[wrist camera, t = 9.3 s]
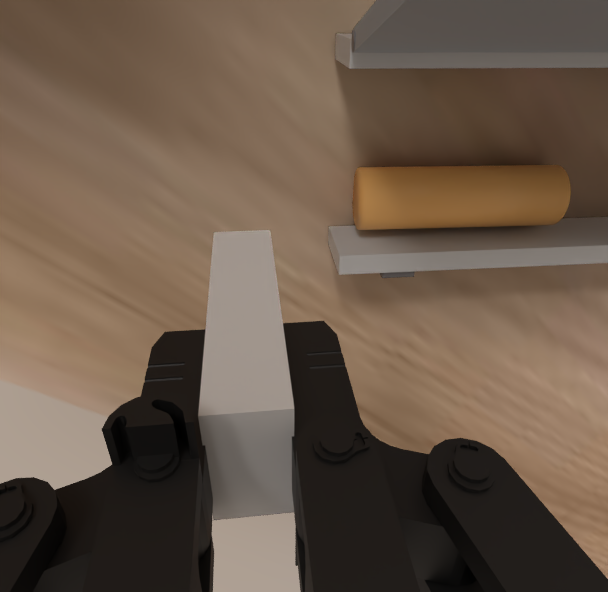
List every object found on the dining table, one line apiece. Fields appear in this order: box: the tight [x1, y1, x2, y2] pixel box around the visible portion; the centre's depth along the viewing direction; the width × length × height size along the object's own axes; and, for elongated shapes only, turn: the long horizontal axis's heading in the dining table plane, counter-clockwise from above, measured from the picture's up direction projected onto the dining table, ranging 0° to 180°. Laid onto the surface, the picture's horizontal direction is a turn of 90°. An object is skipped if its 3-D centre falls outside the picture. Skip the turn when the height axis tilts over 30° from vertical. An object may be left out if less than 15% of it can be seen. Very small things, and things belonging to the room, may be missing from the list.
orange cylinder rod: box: [352, 165, 571, 230], centre depth 25 cm, size 10×3×3 cm
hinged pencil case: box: [328, 33, 608, 278], centre depth 24 cm, size 22×10×4 cm, turn 90°
